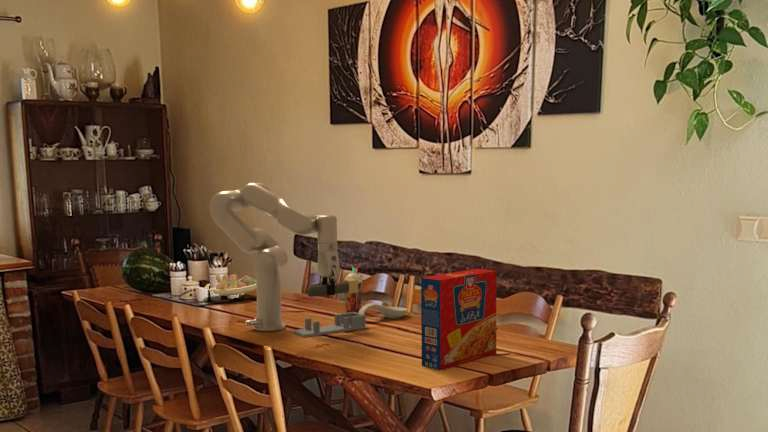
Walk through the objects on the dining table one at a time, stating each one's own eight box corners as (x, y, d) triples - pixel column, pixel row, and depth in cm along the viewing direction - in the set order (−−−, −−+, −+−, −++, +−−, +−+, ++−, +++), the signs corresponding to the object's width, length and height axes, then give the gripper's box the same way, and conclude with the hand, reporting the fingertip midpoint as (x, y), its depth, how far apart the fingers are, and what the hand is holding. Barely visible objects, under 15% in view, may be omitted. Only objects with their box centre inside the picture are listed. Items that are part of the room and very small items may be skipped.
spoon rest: (396, 313, 298) (396, 297, 298) (413, 317, 289) (413, 301, 288) (351, 320, 284) (351, 303, 284) (367, 325, 275) (367, 307, 274)
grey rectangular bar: (312, 297, 257) (312, 284, 257) (307, 295, 261) (306, 283, 261) (358, 292, 268) (357, 280, 268) (351, 290, 272) (351, 278, 272)
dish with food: (203, 305, 319) (202, 275, 319) (202, 295, 346) (202, 267, 346) (263, 302, 327) (263, 272, 326) (258, 292, 354) (257, 265, 353)
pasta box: (440, 370, 209) (440, 280, 207) (421, 365, 215) (421, 277, 213) (496, 353, 228) (496, 270, 227) (477, 349, 234) (477, 268, 232)
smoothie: (366, 312, 300) (366, 266, 299) (350, 314, 296) (349, 268, 295) (356, 309, 307) (355, 265, 306) (340, 311, 303) (339, 266, 301)
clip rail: (304, 337, 254) (303, 324, 254) (293, 332, 261) (293, 320, 261) (365, 328, 269) (365, 315, 268) (354, 324, 276) (353, 311, 276)
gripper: (346, 248, 258) (347, 296, 259) (325, 244, 272) (326, 290, 273) (329, 249, 254) (330, 298, 255) (308, 246, 268) (309, 292, 269)
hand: (328, 293), depth 264 cm, fingers closed on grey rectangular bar, 4 cm apart
